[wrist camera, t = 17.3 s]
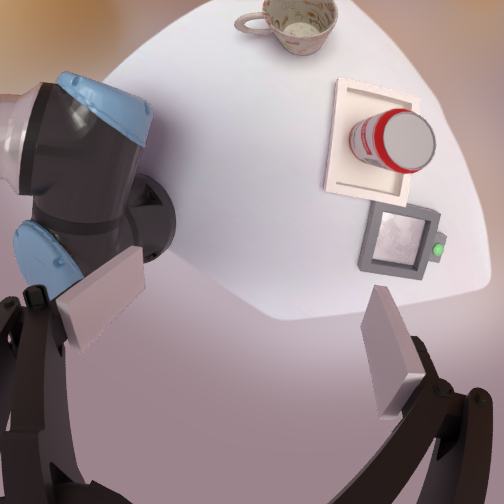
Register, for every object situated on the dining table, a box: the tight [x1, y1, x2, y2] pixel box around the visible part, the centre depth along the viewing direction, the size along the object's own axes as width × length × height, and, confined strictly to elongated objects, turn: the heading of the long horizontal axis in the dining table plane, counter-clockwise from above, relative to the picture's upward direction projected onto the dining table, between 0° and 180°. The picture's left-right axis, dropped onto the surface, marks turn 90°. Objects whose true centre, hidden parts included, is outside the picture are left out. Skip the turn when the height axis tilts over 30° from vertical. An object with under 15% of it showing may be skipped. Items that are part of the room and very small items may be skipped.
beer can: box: [349, 108, 436, 174], centre depth 26 cm, size 6×6×16 cm
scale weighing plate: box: [373, 211, 425, 265], centre depth 38 cm, size 7×7×1 cm
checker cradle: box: [358, 200, 447, 280], centre depth 37 cm, size 13×11×2 cm
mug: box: [234, 0, 338, 55], centre depth 26 cm, size 8×13×10 cm, turn 92°
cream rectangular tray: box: [324, 77, 420, 207], centre depth 33 cm, size 11×15×4 cm
